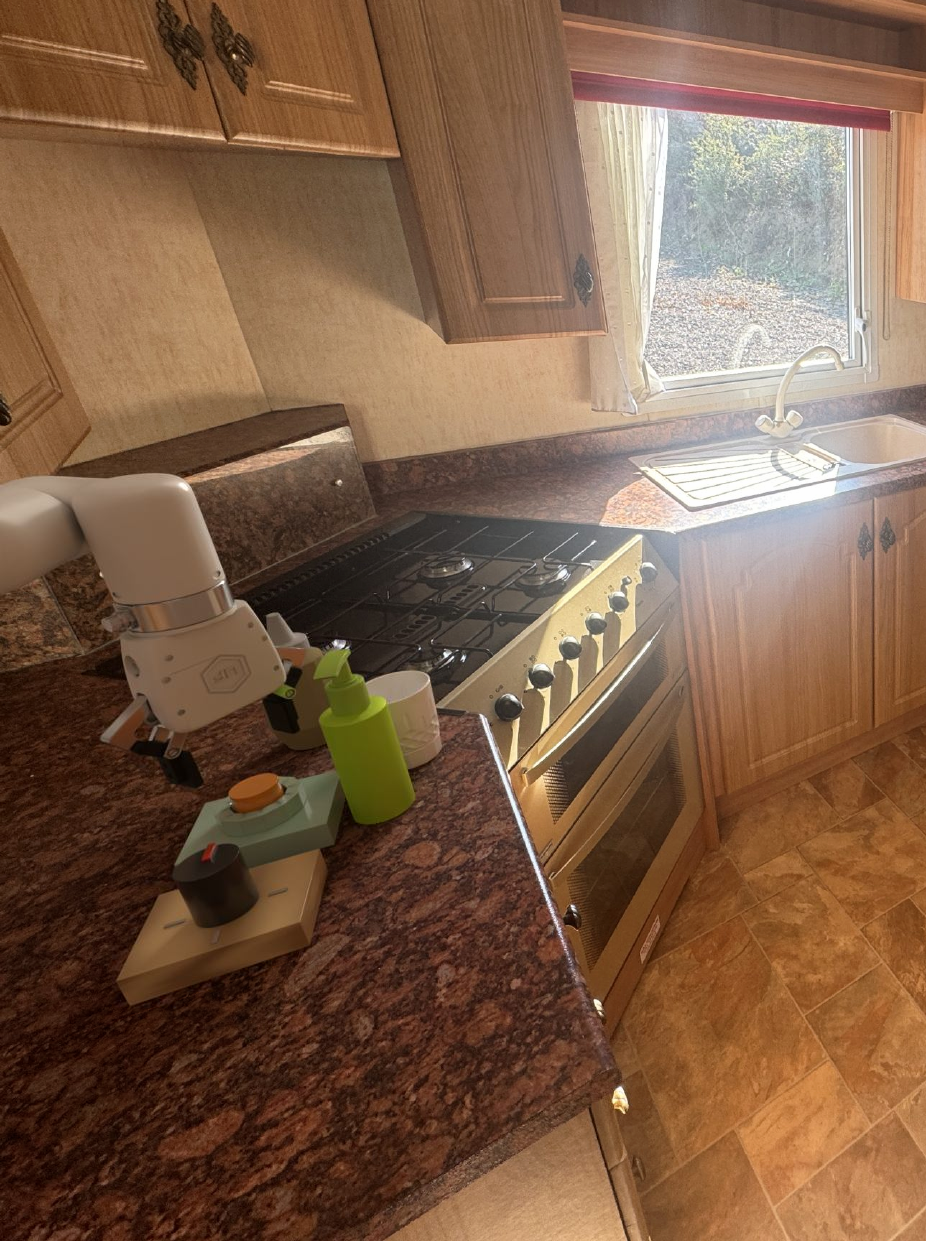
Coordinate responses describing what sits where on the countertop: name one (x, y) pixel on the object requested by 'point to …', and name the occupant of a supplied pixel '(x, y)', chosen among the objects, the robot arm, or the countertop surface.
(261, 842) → the green button base
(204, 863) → the dial
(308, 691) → the squeeze bottle
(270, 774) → the orange arcade button
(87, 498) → the robot arm
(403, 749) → the white cup
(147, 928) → the dial panel
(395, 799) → the soap dispenser
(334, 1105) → the countertop surface
